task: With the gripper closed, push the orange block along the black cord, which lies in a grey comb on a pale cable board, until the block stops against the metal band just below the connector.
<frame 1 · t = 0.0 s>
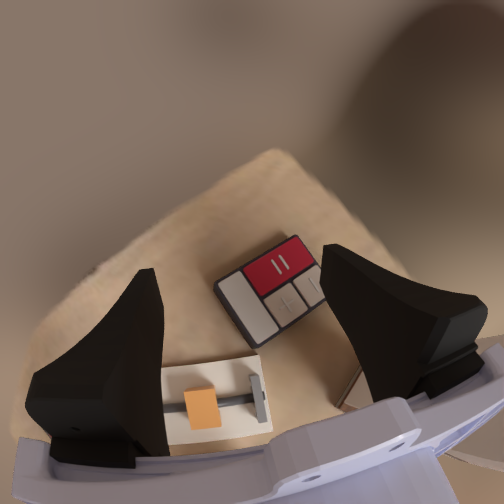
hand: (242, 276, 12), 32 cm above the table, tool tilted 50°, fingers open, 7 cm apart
display case: (376, 393, 42), on the table
cable board: (181, 405, 38), on the table
calculator: (273, 292, 46), on the table
orange block: (203, 407, 36), point 3 cm above the table, slide at 0.0 cm
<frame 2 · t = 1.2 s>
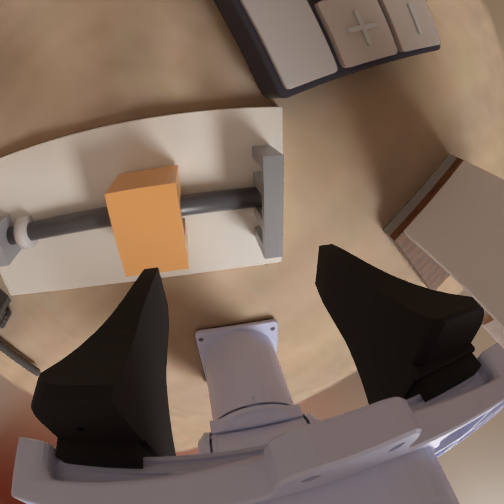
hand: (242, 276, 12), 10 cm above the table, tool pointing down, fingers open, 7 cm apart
display case: (436, 223, 27), on the table
cable board: (110, 207, 20), on the table
calculator: (324, 4, 15), on the table
orange block: (151, 219, 18), point 3 cm above the table, slide at 0.0 cm
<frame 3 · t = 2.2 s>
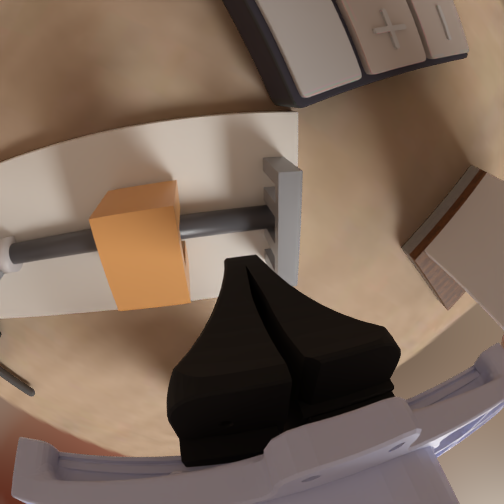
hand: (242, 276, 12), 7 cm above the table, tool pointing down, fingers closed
display case: (455, 238, 25), on the table
cable board: (100, 227, 17), on the table
calculator: (342, 1, 13), on the table
orange block: (145, 244, 15), point 3 cm above the table, slide at 0.0 cm
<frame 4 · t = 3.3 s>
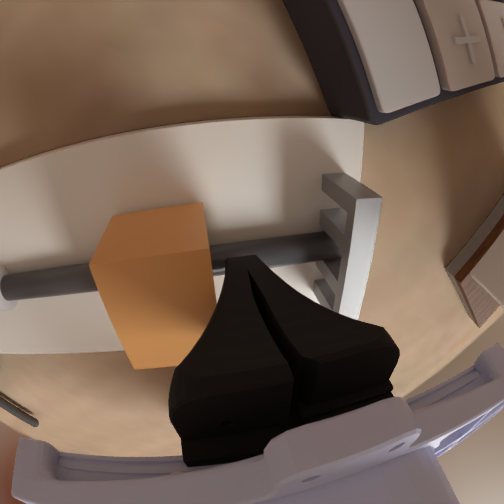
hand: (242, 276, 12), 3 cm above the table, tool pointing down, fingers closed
display case: (491, 255, 22), on the table
cable board: (113, 256, 14), on the table
orange block: (165, 287, 12), point 3 cm above the table, slide at 0.6 cm, touching gripper
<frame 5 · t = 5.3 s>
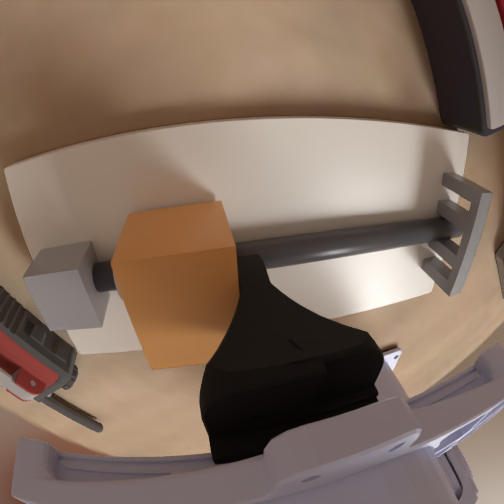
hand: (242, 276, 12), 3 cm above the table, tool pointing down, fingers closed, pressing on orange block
walkie-talkie: (30, 346, 17), on the table
cable board: (271, 235, 15), on the table
calculator: (482, 37, 11), on the table
orange block: (184, 286, 12), point 3 cm above the table, slide at 8.0 cm, touching cable board, gripper
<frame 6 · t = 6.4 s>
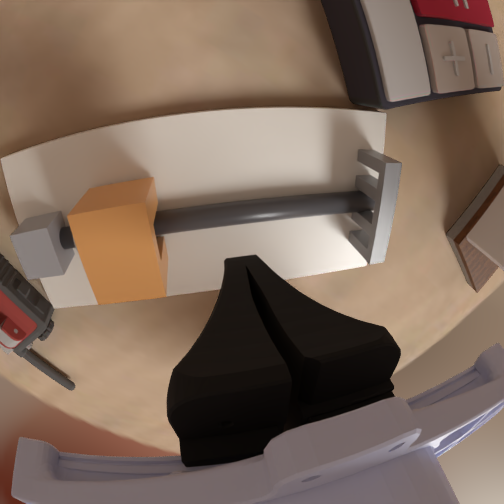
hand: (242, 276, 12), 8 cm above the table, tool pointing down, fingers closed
display case: (484, 228, 26), on the table
walkie-talkie: (17, 305, 20), on the table
cable board: (197, 206, 19), on the table
calculator: (411, 25, 15), on the table
orange block: (123, 240, 15), point 3 cm above the table, slide at 7.7 cm
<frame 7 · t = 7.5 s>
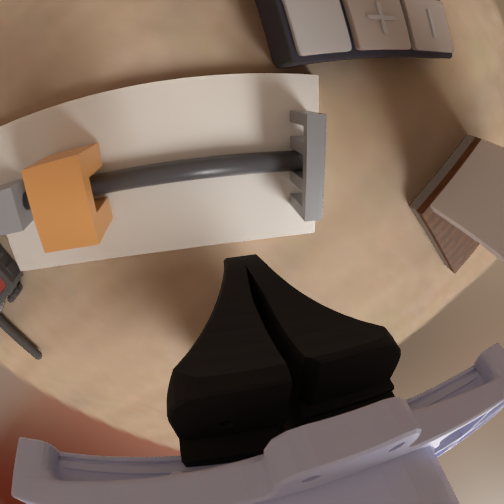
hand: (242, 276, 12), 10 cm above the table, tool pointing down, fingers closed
display case: (457, 203, 26), on the table
cable board: (139, 171, 19), on the table
orange block: (69, 196, 16), point 3 cm above the table, slide at 7.7 cm
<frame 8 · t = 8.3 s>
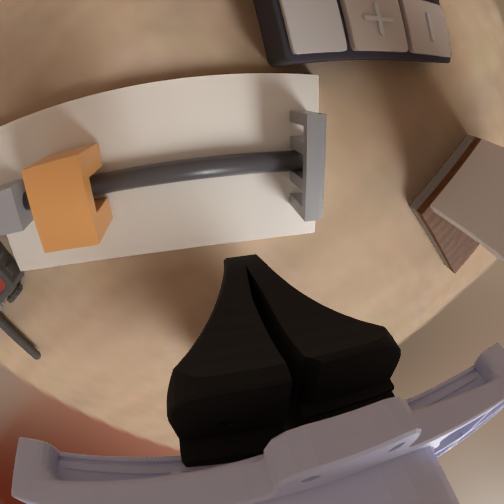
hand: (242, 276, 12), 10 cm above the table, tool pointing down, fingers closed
display case: (457, 203, 26), on the table
cable board: (139, 171, 19), on the table
orange block: (69, 196, 16), point 3 cm above the table, slide at 7.7 cm
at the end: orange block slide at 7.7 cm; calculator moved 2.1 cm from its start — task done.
